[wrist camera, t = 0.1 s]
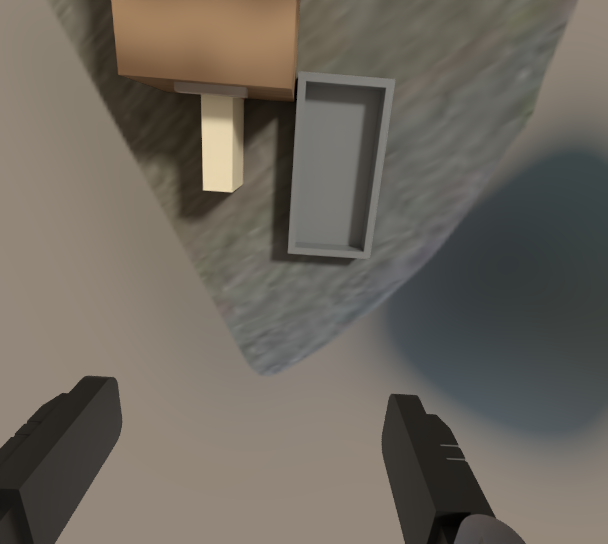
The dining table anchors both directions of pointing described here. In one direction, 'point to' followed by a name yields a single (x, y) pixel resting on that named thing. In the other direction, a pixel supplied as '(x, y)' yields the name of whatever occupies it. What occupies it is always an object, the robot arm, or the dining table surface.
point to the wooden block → (209, 46)
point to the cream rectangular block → (222, 142)
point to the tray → (338, 163)
